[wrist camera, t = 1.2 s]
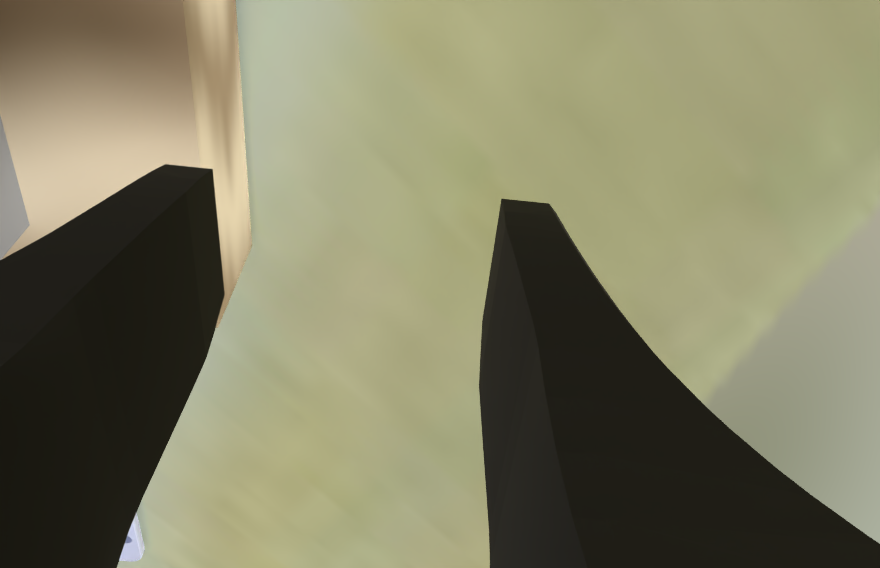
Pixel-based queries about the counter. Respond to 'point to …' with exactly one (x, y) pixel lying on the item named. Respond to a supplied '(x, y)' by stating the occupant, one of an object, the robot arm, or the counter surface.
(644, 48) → the counter surface
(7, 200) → the slate tile
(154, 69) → the birch deck
